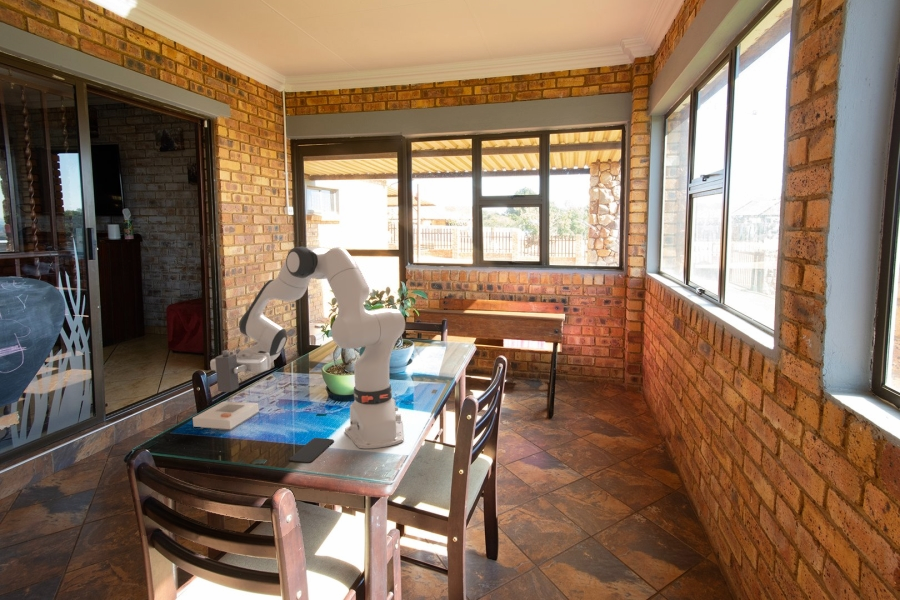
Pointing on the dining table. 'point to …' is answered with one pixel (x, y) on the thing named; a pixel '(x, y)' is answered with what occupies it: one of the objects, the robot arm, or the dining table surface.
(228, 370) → the plug
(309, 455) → the phone
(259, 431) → the dining table surface
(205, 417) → the socket
